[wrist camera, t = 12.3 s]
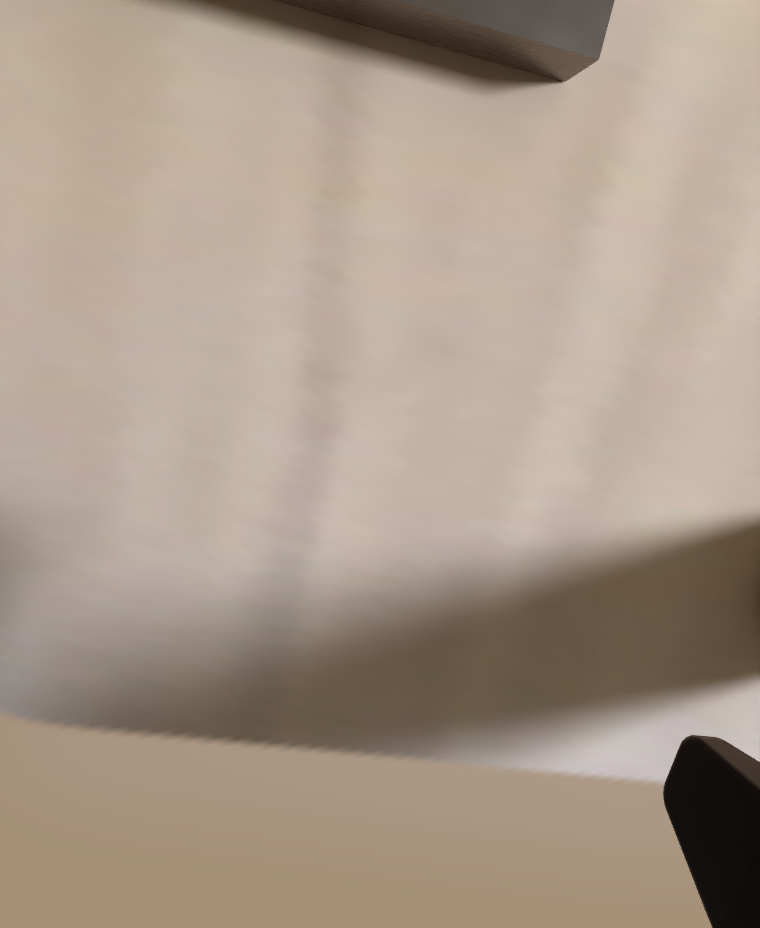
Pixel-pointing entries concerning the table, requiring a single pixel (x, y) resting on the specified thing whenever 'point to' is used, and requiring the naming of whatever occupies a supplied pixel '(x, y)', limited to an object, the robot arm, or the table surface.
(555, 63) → the ring on base plate
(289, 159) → the table surface
